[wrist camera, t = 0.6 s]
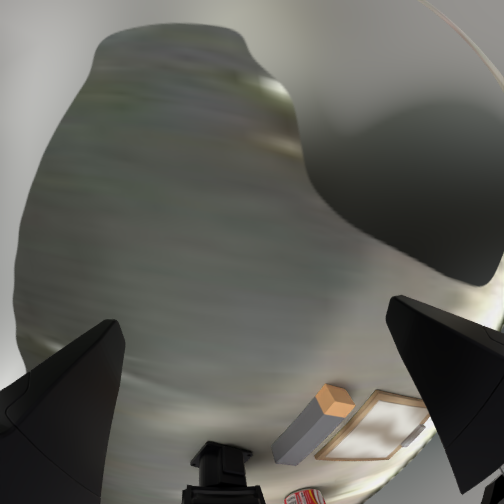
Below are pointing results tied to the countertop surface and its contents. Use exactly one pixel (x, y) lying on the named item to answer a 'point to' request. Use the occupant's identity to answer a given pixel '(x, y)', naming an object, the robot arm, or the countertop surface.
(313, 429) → the marker
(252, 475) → the countertop surface
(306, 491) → the soda can
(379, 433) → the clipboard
